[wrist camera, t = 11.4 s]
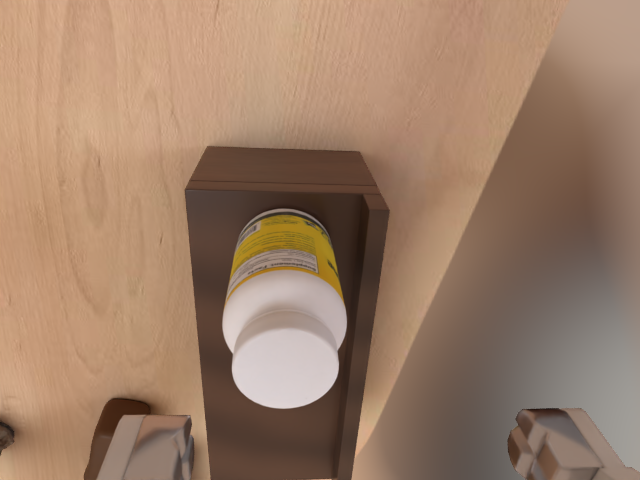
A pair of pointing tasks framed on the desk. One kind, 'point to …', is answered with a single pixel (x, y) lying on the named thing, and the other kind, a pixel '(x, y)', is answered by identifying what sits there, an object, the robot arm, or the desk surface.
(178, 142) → the desk surface
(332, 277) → the pill bottle
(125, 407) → the chocolate bar pack
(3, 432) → the figurine
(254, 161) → the shelf
